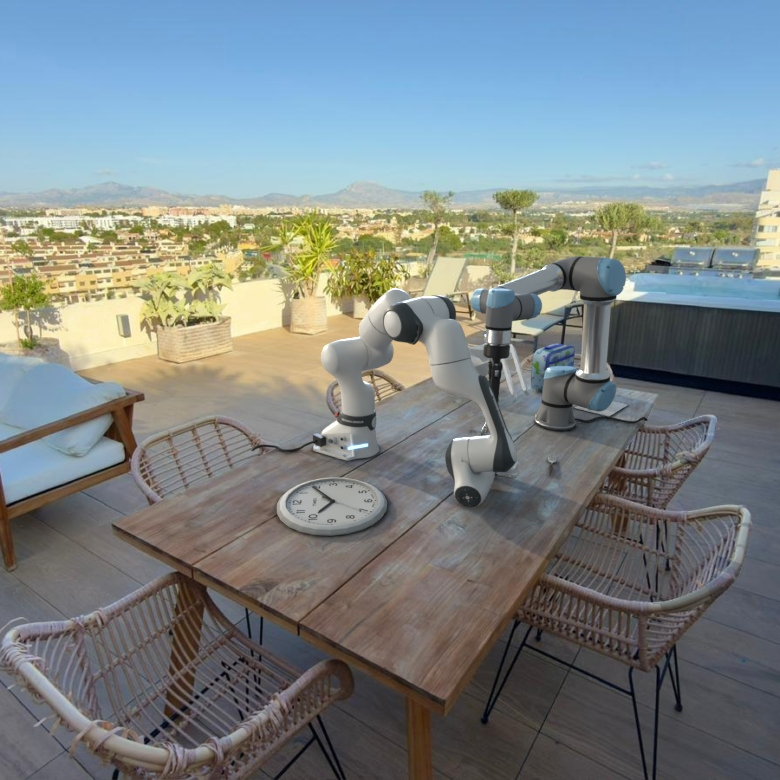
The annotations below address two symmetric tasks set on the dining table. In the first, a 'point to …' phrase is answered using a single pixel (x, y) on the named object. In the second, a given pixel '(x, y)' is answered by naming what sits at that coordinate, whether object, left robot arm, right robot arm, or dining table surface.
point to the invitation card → (609, 411)
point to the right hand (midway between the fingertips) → (491, 418)
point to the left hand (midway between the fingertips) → (488, 453)
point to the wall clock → (331, 506)
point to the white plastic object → (482, 366)
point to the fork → (551, 462)
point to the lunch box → (550, 361)
